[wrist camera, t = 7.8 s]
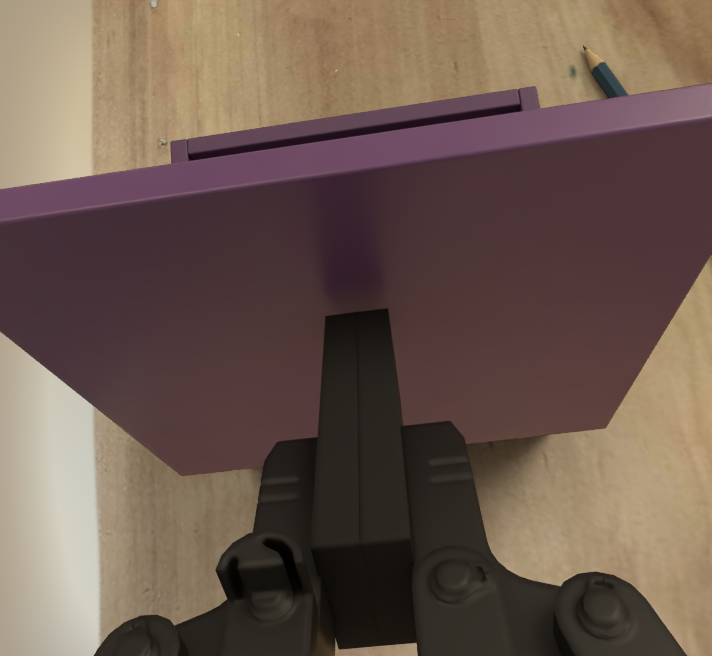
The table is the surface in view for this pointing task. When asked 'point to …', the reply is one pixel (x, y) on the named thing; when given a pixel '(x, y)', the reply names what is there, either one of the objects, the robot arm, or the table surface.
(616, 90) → the pencil
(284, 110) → the table surface
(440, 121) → the file box
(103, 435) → the table surface
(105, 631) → the table surface
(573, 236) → the lid
